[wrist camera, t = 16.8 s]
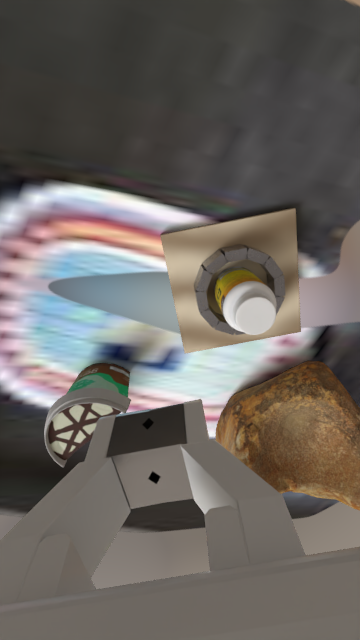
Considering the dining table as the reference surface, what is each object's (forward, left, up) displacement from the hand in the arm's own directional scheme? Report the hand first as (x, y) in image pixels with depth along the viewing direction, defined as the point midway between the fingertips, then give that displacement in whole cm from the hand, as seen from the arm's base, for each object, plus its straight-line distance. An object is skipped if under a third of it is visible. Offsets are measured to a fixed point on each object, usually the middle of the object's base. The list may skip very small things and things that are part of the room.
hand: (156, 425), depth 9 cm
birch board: (+6, +8, -31) cm, 33 cm away
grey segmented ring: (+6, +8, -30) cm, 32 cm away
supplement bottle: (+6, +8, -30) cm, 32 cm away
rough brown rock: (+25, +14, -31) cm, 43 cm away
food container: (+16, -14, -31) cm, 38 cm away
